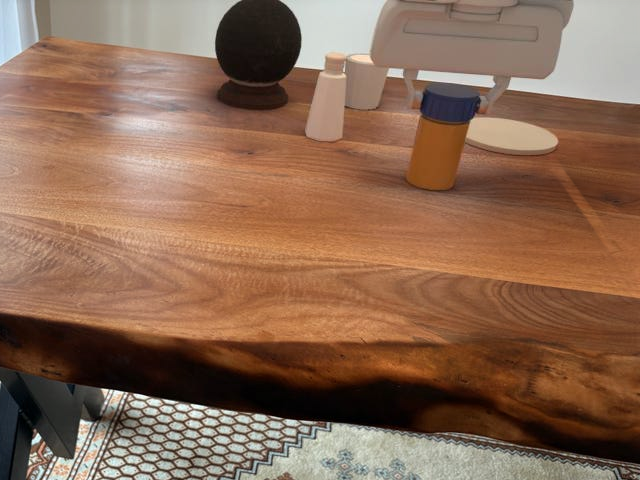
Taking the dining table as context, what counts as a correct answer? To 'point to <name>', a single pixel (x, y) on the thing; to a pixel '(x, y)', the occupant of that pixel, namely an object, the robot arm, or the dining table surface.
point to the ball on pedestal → (257, 53)
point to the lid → (449, 102)
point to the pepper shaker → (328, 101)
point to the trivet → (510, 137)
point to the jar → (436, 153)
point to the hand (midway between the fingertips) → (447, 110)
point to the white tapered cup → (363, 82)
